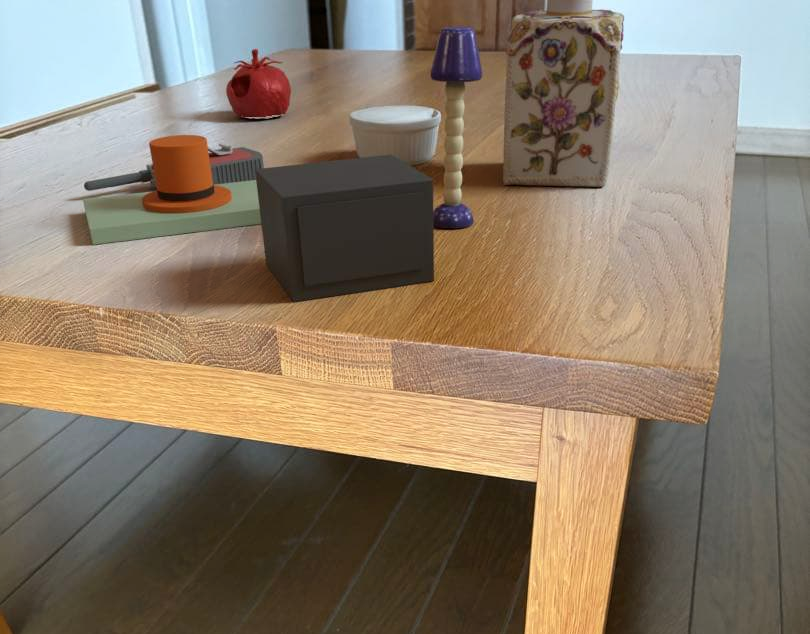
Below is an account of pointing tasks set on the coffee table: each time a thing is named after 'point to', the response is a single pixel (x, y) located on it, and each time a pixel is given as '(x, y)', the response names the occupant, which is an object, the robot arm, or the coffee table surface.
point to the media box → (346, 225)
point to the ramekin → (396, 132)
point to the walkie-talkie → (223, 165)
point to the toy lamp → (454, 116)
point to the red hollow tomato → (258, 89)
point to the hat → (183, 176)
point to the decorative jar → (561, 95)
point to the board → (167, 216)
